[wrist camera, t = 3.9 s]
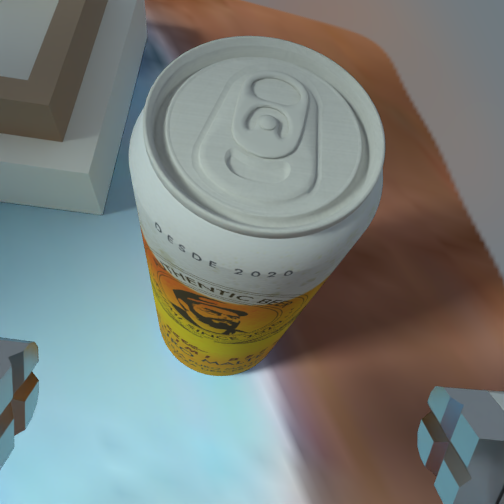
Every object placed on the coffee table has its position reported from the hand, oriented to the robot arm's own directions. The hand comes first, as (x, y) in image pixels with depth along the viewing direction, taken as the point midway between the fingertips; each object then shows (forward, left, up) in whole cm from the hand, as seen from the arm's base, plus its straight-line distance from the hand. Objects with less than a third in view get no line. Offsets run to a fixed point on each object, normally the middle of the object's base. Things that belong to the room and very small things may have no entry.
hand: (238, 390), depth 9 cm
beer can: (0, +5, -13) cm, 14 cm away
